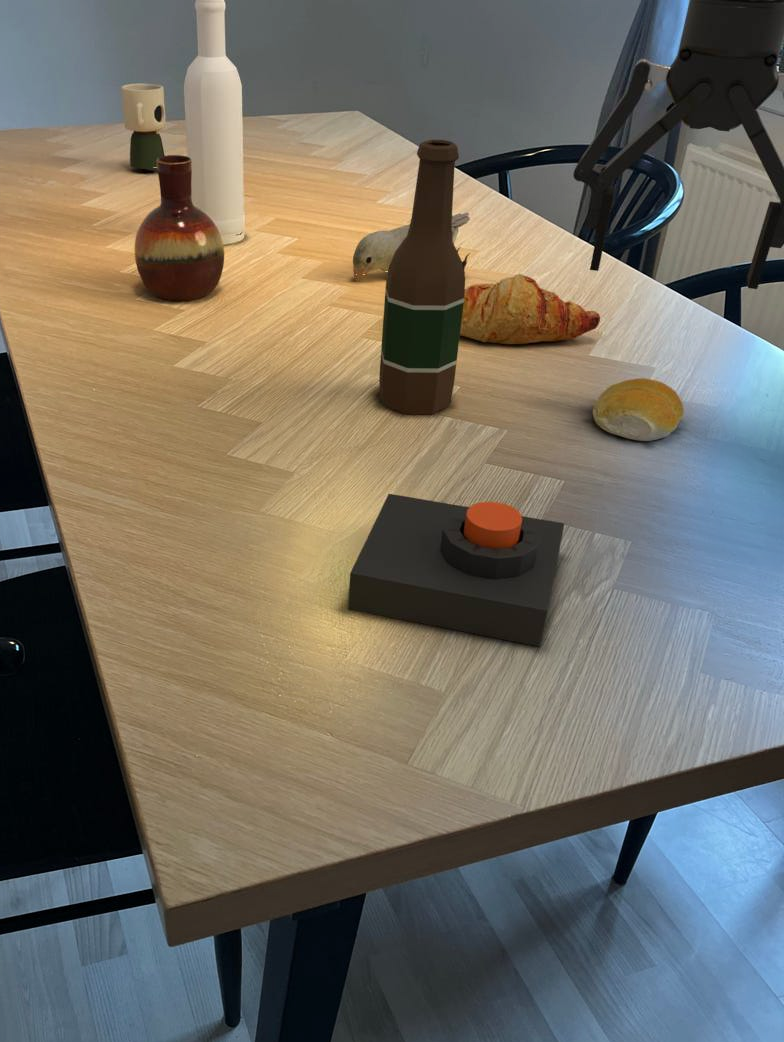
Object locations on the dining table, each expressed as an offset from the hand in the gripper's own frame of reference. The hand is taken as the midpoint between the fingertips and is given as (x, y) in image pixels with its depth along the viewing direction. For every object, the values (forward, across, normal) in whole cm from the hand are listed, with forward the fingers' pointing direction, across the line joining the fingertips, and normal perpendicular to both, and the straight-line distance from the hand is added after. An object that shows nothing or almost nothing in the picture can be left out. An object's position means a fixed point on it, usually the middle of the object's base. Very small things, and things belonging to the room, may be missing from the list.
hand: (671, 275), depth 88 cm
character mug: (+15, +87, -76) cm, 116 cm away
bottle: (+15, +61, -43) cm, 76 cm away
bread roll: (+15, 0, 0) cm, 15 cm away
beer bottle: (+15, +22, +2) cm, 26 cm away
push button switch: (+14, +12, +33) cm, 38 cm away
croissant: (+15, +16, -20) cm, 29 cm away
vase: (+15, +57, -20) cm, 62 cm away
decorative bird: (+15, +31, -36) cm, 50 cm away
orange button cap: (+10, +10, +33) cm, 36 cm away
